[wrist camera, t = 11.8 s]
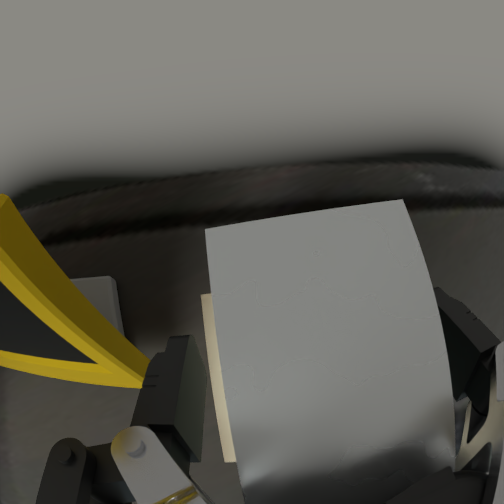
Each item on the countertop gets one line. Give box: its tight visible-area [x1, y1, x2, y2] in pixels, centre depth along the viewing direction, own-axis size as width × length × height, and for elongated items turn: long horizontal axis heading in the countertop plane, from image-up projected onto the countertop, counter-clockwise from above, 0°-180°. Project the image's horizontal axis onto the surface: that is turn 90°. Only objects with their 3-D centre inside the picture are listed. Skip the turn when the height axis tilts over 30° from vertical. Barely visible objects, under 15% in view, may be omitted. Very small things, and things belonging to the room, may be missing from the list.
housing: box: [205, 199, 455, 504], centre depth 10 cm, size 5×8×10 cm, turn 8°
